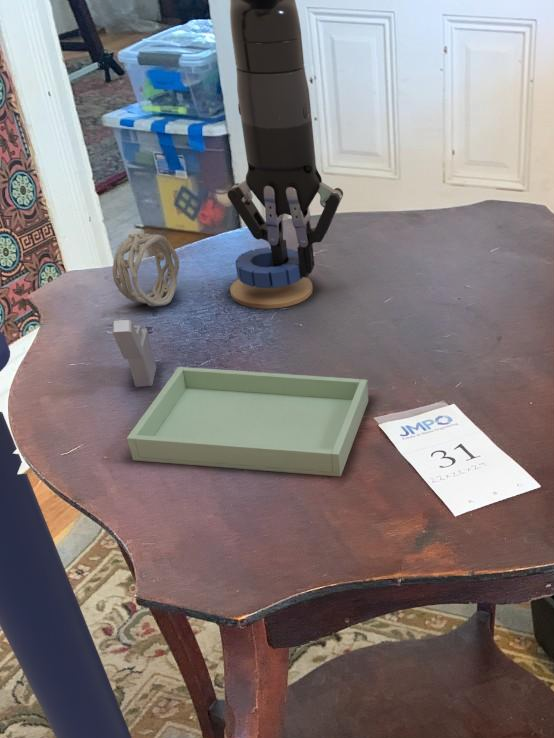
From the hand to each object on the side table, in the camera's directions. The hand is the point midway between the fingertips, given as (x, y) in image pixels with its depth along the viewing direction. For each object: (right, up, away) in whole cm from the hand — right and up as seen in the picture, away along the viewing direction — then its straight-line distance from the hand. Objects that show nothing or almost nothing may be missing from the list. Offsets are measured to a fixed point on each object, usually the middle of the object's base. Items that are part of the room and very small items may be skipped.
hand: (294, 273), depth 103 cm
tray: (0, -23, -21) cm, 31 cm away
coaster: (-3, -1, +2) cm, 4 cm away
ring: (-3, 0, 0) cm, 3 cm away
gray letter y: (-13, -17, -15) cm, 26 cm away
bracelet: (-17, -4, -1) cm, 17 cm away
